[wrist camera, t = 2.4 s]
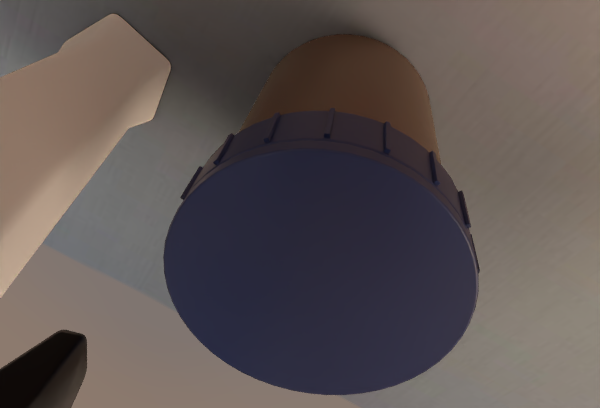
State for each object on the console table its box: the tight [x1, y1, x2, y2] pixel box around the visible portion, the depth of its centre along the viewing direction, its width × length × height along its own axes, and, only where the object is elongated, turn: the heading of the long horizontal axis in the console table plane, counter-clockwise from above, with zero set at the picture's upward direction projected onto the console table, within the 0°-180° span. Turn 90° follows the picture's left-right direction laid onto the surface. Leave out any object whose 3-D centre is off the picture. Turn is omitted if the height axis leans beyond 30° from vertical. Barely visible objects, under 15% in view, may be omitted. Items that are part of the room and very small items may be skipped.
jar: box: [239, 34, 441, 164], centre depth 16 cm, size 6×6×9 cm
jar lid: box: [164, 108, 480, 395], centre depth 12 cm, size 7×7×2 cm
